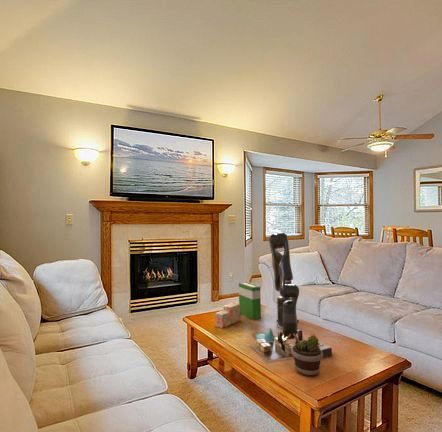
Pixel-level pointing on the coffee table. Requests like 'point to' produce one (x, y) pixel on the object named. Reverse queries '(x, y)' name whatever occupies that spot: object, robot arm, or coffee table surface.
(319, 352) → the flowerpot
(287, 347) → the tan cross-marked cube
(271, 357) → the letter board
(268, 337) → the diorama
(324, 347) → the calculator
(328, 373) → the coffee table surface
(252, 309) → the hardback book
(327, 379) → the coffee table surface
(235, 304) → the stack of blocks
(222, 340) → the coffee table surface
